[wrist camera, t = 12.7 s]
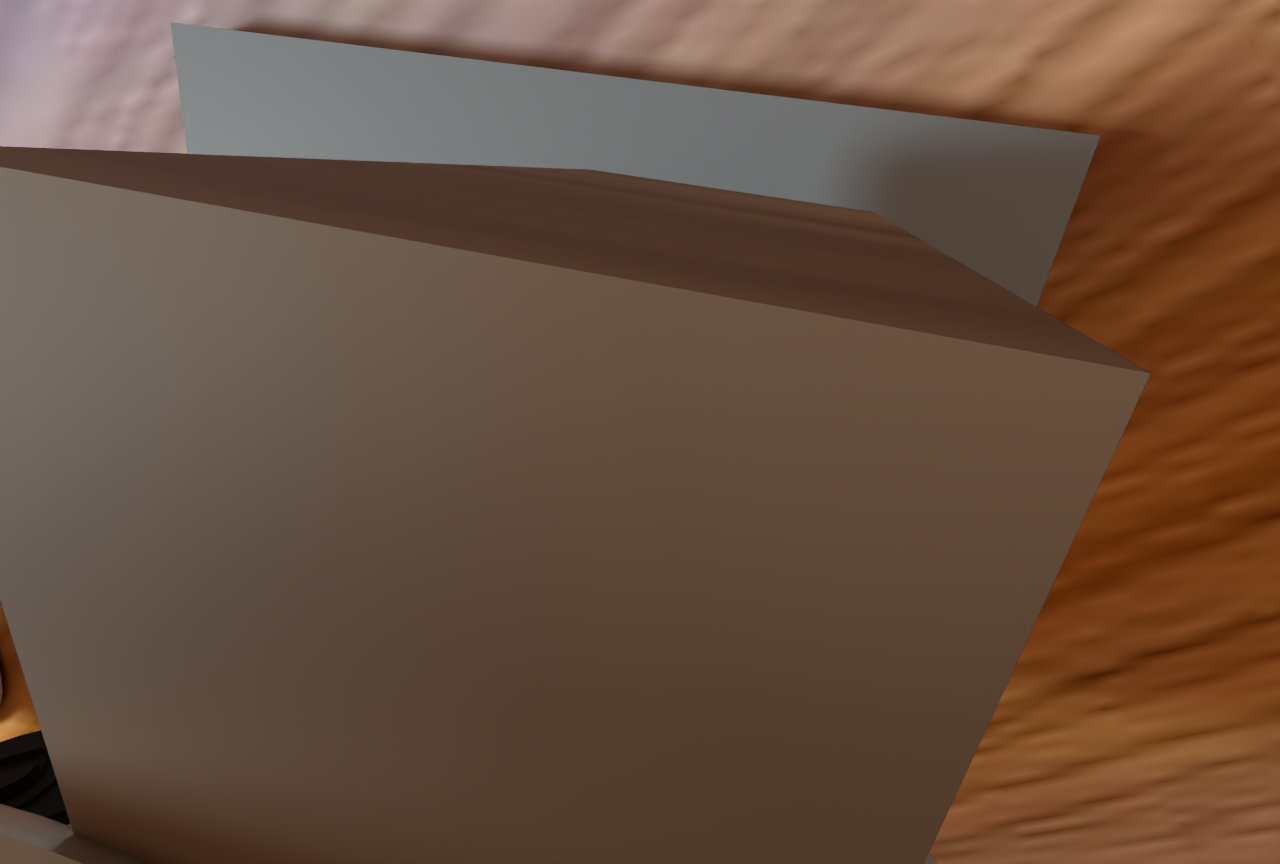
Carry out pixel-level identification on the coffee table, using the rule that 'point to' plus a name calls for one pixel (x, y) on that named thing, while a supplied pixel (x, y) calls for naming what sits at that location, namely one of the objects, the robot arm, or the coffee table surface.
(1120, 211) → the coffee table surface
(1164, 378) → the coffee table surface
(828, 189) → the board
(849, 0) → the coffee table surface
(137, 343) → the brown banded block
